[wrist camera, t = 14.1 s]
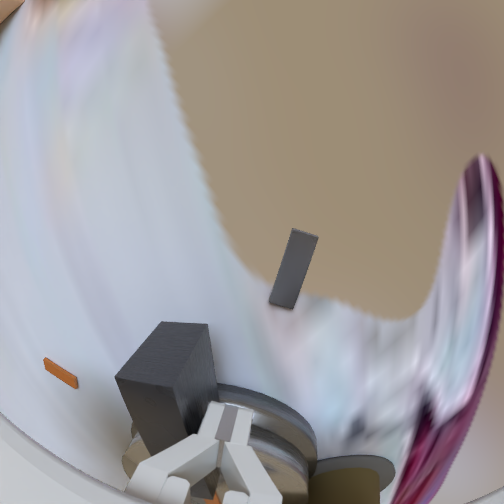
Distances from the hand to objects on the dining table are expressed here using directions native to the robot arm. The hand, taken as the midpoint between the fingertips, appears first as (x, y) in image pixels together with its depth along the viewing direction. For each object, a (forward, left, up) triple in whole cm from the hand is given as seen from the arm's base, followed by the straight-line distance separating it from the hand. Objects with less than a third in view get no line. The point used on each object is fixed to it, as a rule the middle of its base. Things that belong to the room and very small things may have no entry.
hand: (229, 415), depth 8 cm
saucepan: (-5, 0, -2) cm, 5 cm away
